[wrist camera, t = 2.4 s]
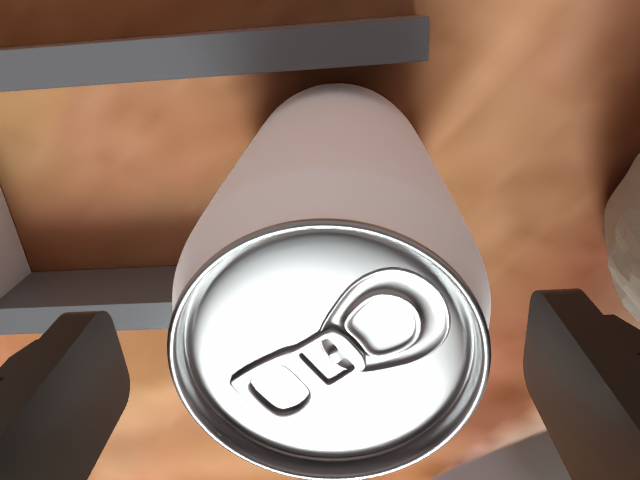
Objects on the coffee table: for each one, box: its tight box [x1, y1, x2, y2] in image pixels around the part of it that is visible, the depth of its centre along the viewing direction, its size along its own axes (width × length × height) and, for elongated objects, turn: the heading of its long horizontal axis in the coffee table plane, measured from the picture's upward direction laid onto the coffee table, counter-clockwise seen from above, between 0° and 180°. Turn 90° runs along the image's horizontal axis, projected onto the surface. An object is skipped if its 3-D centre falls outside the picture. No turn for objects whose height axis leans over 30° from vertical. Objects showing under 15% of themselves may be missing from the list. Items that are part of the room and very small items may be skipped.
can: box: [167, 83, 491, 480], centre depth 14 cm, size 6×6×12 cm
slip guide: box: [0, 15, 429, 335], centre depth 19 cm, size 18×10×3 cm, turn 94°
